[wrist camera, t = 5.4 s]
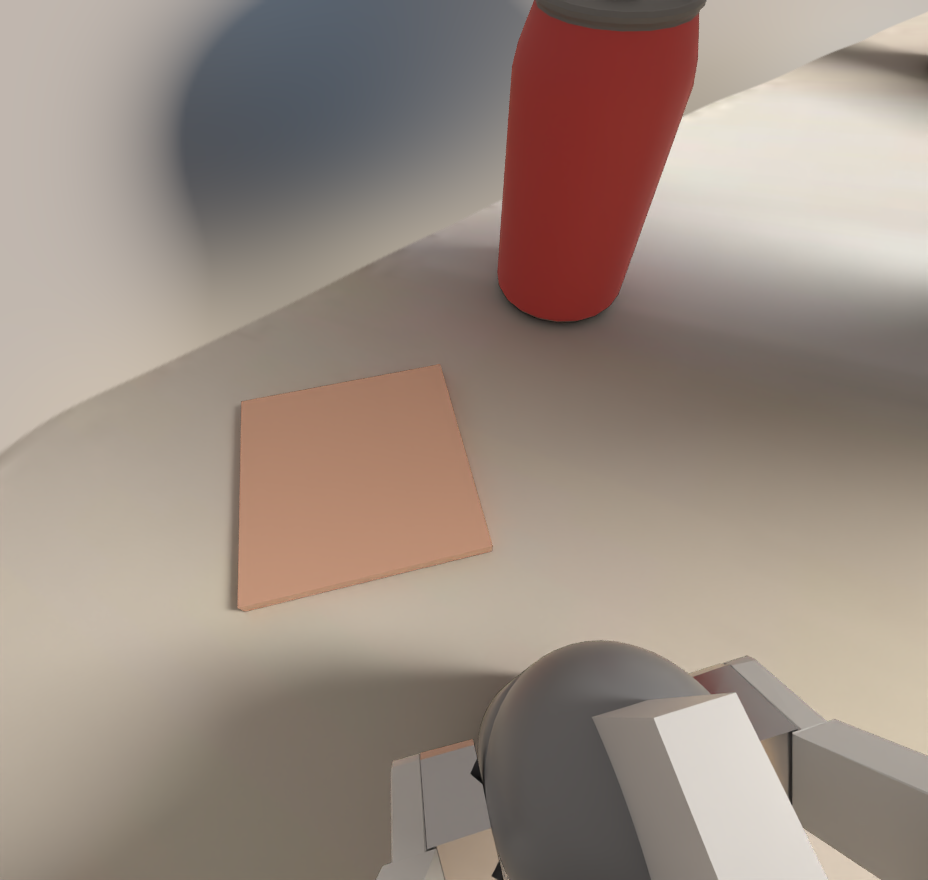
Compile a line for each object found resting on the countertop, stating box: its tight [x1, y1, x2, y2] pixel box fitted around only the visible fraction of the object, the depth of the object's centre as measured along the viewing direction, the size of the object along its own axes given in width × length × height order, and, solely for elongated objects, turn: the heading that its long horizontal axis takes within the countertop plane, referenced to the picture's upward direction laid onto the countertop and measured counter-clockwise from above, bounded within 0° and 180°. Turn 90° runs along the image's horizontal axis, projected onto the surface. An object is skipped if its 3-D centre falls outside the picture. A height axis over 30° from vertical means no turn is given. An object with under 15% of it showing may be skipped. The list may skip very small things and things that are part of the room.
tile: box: [238, 364, 493, 612], centre depth 18 cm, size 9×9×1 cm
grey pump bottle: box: [478, 640, 829, 880], centre depth 8 cm, size 4×4×11 cm
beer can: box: [497, 0, 706, 322], centre depth 20 cm, size 7×7×12 cm
